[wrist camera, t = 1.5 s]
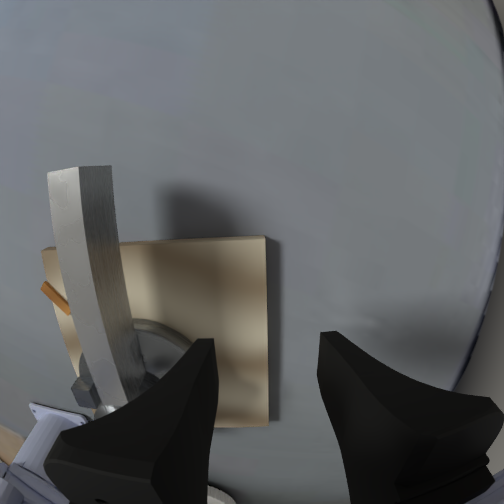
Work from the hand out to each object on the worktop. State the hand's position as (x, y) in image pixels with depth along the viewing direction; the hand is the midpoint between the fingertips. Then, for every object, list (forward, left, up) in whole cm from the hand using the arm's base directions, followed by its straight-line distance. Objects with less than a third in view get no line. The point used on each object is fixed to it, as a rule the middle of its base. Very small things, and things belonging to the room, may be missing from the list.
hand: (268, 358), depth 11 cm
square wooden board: (-6, +8, -9) cm, 13 cm away
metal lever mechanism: (-3, +9, -8) cm, 12 cm away
